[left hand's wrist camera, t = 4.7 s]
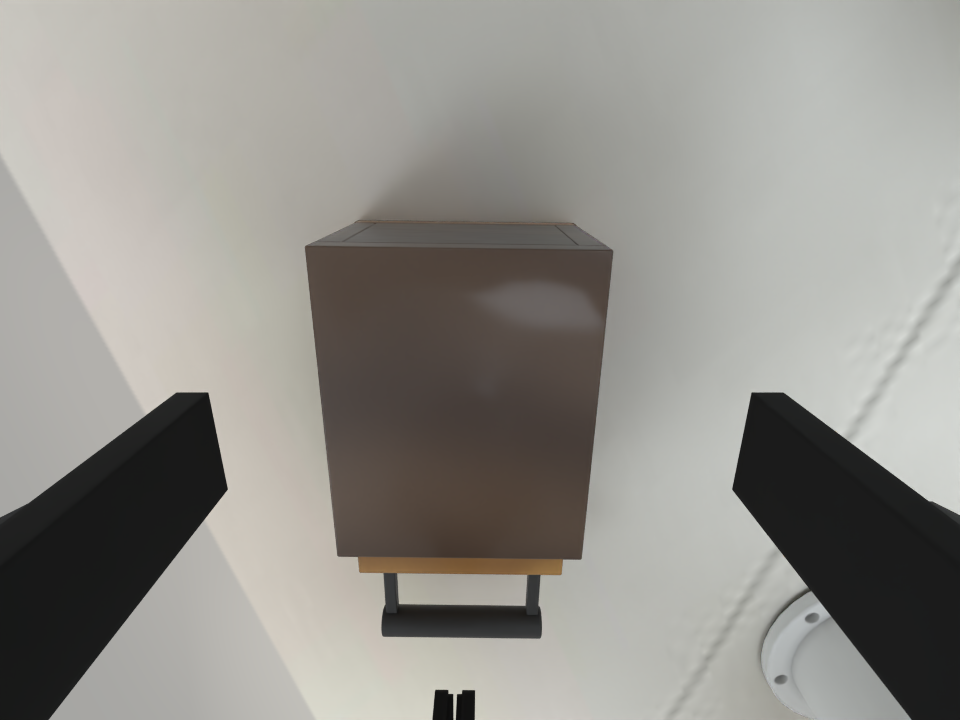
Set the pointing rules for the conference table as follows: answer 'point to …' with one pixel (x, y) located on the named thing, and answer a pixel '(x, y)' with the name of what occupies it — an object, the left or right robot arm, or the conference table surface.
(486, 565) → the drawer
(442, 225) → the cabinet
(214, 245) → the conference table surface
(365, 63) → the conference table surface
